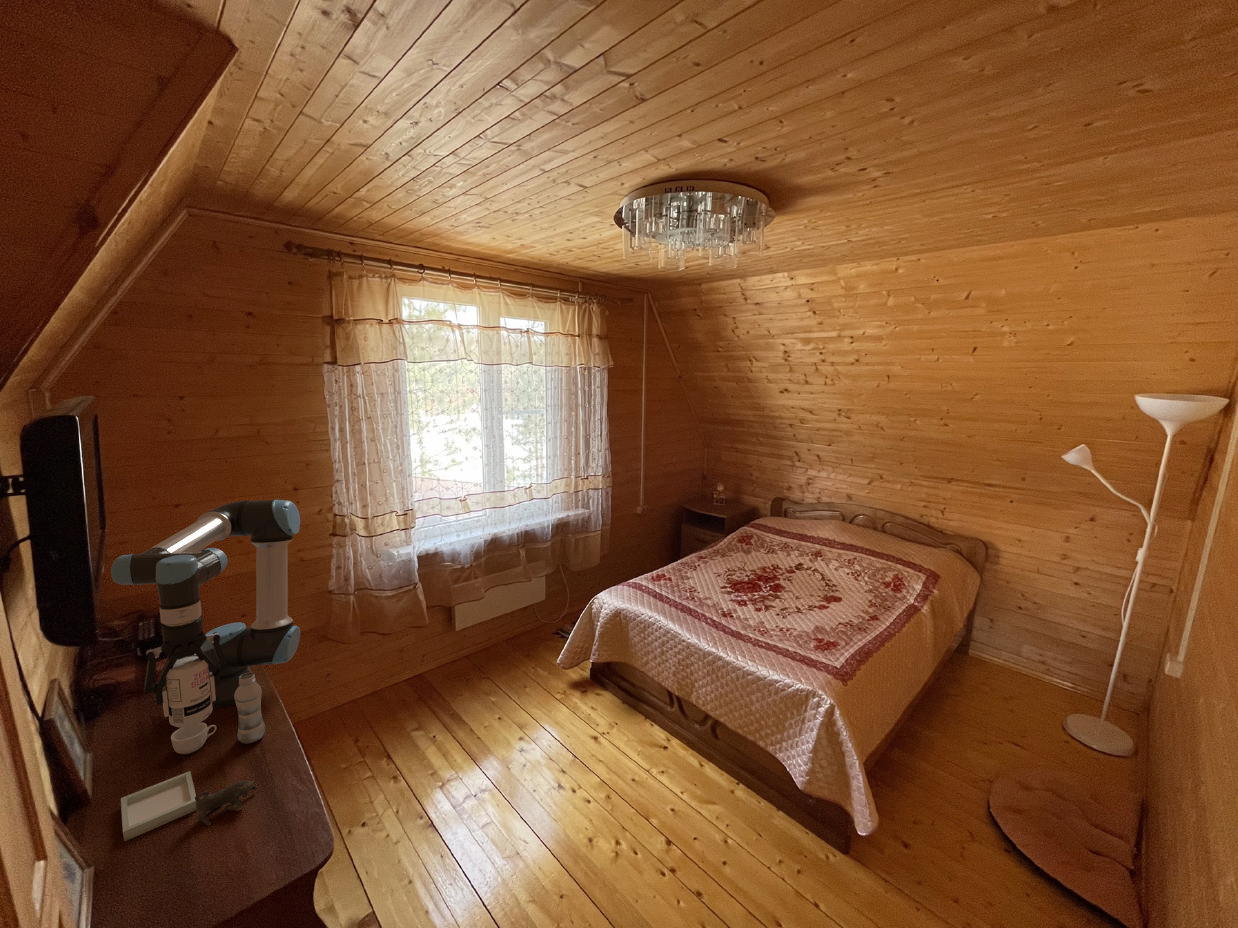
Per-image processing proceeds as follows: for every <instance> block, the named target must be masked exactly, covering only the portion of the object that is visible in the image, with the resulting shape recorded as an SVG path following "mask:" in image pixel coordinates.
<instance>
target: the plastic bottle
mask: <svg viewBox="0 0 1238 928" xmlns="http://www.w3.org/2000/svg"><path fill="white" fill-rule="evenodd" d="M255 679H256V677H255V673H254V672H252V673H245V674H243V675H241V676H240V677H239V685H240V686H239V687H238V688H237V690H236V691H235V694H234V699H235V703H236V704H235V705H236V708H237V715H238V727H237V739H238V741H239V742H241V744H245V745H246V744H252V743H255V742H257V741H259V740H260V739H261V738H263V736H264V735H265V732H266V725H265V722H264V720H263V715H262V708H261V707H262V704H261V703H262V702H261V701H262V691H263V690H262V687H261V685H260V684H259V683H258V682H257V681H256V682H257V683H256V682H254V681H255Z"/></svg>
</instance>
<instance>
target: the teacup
mask: <svg viewBox="0 0 1238 928" xmlns="http://www.w3.org/2000/svg"><path fill="white" fill-rule="evenodd" d="M213 727H214V730H213V731H211V732H210V733H209V731H210V729H211V728H213ZM216 731H217V725H215V724H211V725H207V723H205V722H203V721H201V722H199V723H197V724H195V725H192V726H188V727H178V729H176V730H175V731H173V733H171V736H170V739H171V740H170V741H171V745H172V749H173V750H174V752H175V753H177V754H179V755H189V754H192V753H194V752H197V751H198V750H199V749H201V748H202V747H203V745H205V743H206V740H207V739H208V738H209V737H210V736H211V735H213V734H214V733H215V732H216Z"/></svg>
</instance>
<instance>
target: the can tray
mask: <svg viewBox="0 0 1238 928" xmlns="http://www.w3.org/2000/svg"><path fill="white" fill-rule="evenodd" d="M196 795H197V794H196V790H195V785H194V782H193V778H192V772H191V770H189V771H187V772H186V771H185V772H184V773H182V774H178V775H176V776H174V777H171V778H169V779H166V780H164V781H161V782H159V783H156V784H154V785H151V786H149V787H145V788H144V789H141V790H138V791H136V792H134V793H133V792H132V793H131V794H127V795H126V796H123V797H121V798H120V807H121V824H122V835H123V841H124V843H125V842H126V841H129V840H131V839H133V838H136V837H137V836H138V837H139V836H140V835H142V834H146V833H147V832H150V831H152V830H154V829H156V828H158V827H161V826H163V825H165V824H168V823H170V822H172V821H174V820H177V819H179V818H181V817H184V816H186V815H188V814H191V813H192V812H193V813H194V811H198V810H197V807H196V800H195V796H196Z"/></svg>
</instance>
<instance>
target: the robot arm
mask: <svg viewBox="0 0 1238 928" xmlns="http://www.w3.org/2000/svg"><path fill="white" fill-rule="evenodd" d="M300 516H301V515H300V512H299V509H298V507H297V506H296V504H295V503H294V502H293V501H290V500H286V499H285V500H283V499H264V500H263V499H261V500H259V499H258V500H247V499H246V500H237V501H232V502H228V503H225V504H222V505H220V506H217V507H215V508H212V509H210V510H208V511H206V512H204V513H203V514H201V515H200V516H199V517H198V518H197V519H196V521H195V522H194V523H192V524H190V525H188V526H187V527H185V528H183V529H182V530H180V531H178V532H176V533H175V534H173V535H171V536H170V537H167V538H165V539H164V540H162V541H160V542H159V543H158V544H155V545H154V546H152V547H150V548H148V549H146V550H145V551H143V552H141V553H138V554H137V553H130V554H122V555H120V556H118V557H116V559H115V560H114V561H113V563H112V564H111V568H110V575H111V579H112V581H113V582H114V583H115V584H118V585H121V586H123V585H124V586H125V585H128V586H129V585H131V586H139V585H156V588H157V594H158V604H159V607H158V608H159V615H160V616H159V617H160V623H161V624H162V625H160V626H161V635H162V643H161V644H160V646H159V647H156V648H148V649H146V650H145V654H146V657H147V664H146V671H145V679H144V685H143V689H144V692H145V694H151V693H154V695H155V702H156V704H157V705H162V708H163V714H164V717H165V718H167V717H169V709H168V699H167V691H166V685H165V683H166V681H167V680H166V676H167V674H168V672H169V669H172V668H173V666H174V664H175V663H176V661H177V659H182V658H184V657H186V656H192V655H197V657H198V658H200V660H201V661H203V660H204V661H205V662H206V663H207V664H208V669H209V677H210V688H211V699H212V709H221V708H226V707H230V706H233V705H236V703H235V699H234V694H235V691H236V690H237V688H238V687H239V686H240V685H239V677H240V676H241V675H243V674H245V673H253V672H252V670H251V669H250V667H251V666H252V667H253V666H262V665H263V666H264V665H272V666H273V665H278V664H285V663H287V662H289V661H291V660H292V659H293V657H294V656H295V654H296V652H297V650H298V647H299V644H300V640H301V629H300V627H299V626H297V625H294V619H293V618H292V617H291V616H289V614H288V613H289V611H288V606H289V604H288V603H289V602H288V601H289V600H288V599H289V598H288V595H289V594H288V593H289V592H288V591H289V590H288V588H289V586H288V582H289V581H288V580H289V578H288V577H289V576H288V573H289V572H288V565H289V564H288V560H289V559H288V557H289V555H288V552H289V550H288V547H289V546H288V545H289V544H290V543H291V542H292V541H293V540H294V536H295V535H297V534H298V533H299V532H300V526H301V517H300ZM230 537H250V543H251V544H252V545H253V546H254V547H255V548H256V549H255V550H256V552H255V553H256V557H255V559H256V561H255V562H256V565H255V570H256V574H255V575H256V579H255V580H256V586H255V587H256V588H255V589H256V591H255V592H256V598H255V600H256V609H255V610H256V614H255V615H256V619H255V621H253V623H252V624H250V628H247V625H246V624H245V623H244V622H240V621H239V622H231V623H227V624H224V625H220V626H218V627H216V628H215V627H214V628H213V629H211V630H209V631H207V632H206V633H205V632H204V625H203V617H202V613H203V611H202V604H201V595H200V593H201V590H200V587H202V586H204V584H206V583H208V582H209V581H211V580H213V579H214V578H216V577H218V576H219V575H220V574H221V573H222V572H224V571H225V569H226V568H227V566H228V562H229V560H228V557H227V555H226V553H225V552H224V551H223V550H221V549H220V548H218V547H217V548H215V547H208V546H211V544H213V543H215V542H220V541H223V540H225V539H227V538H230ZM162 652H163V653H164V654H166V655H167V657H166V660H165V663H164V665H163V667H162V670H161V672H160V674H159V676H158V678H157V680H156V682H155V683H154V680H155V679H154V678H155V673H156V672H155V671H156V665H157V659H158V658H159V657H160V654H161V653H162ZM256 679H257V678H255V681H254V682H256V683H257V684H258V682H257V680H256Z"/></svg>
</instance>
